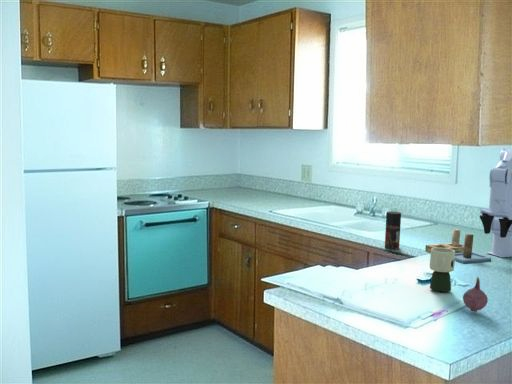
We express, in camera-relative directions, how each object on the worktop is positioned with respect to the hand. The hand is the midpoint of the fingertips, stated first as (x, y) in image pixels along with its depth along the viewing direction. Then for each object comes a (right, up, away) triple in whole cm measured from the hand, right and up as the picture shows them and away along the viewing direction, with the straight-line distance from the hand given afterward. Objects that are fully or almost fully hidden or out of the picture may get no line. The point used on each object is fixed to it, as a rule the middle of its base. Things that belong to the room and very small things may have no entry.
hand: (495, 235), depth 203 cm
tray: (-8, -10, +5) cm, 14 cm away
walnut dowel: (-8, -9, +5) cm, 13 cm away
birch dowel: (-8, -8, +18) cm, 22 cm away
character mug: (-34, -14, -37) cm, 52 cm away
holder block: (-12, -8, +17) cm, 22 cm away
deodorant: (-34, -7, +22) cm, 41 cm away
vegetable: (-31, -17, -57) cm, 67 cm away
